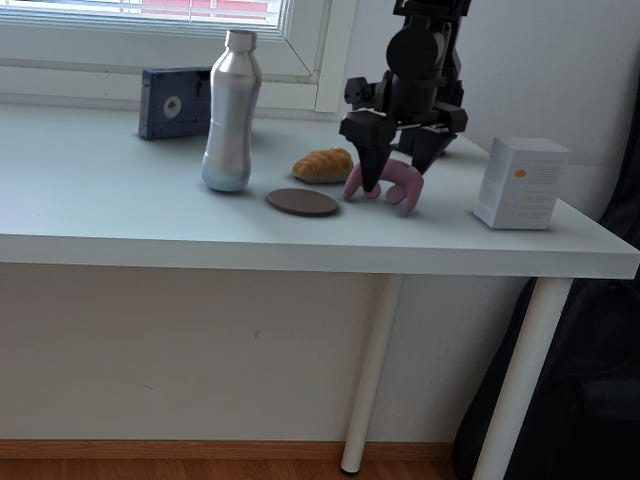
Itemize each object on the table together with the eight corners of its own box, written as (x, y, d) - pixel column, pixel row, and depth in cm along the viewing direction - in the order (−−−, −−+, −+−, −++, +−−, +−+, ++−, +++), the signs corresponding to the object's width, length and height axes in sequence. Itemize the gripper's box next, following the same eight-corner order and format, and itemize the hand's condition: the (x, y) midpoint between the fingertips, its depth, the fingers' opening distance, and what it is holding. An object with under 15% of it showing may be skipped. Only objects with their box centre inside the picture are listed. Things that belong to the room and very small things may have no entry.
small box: (526, 214, 115) (550, 138, 110) (547, 230, 111) (574, 151, 105) (471, 213, 114) (493, 135, 109) (490, 229, 109) (514, 148, 104)
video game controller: (414, 220, 114) (431, 170, 113) (411, 215, 110) (428, 162, 109) (344, 203, 118) (359, 154, 117) (338, 197, 114) (354, 146, 113)
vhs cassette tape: (229, 125, 142) (237, 63, 137) (240, 130, 140) (248, 68, 135) (135, 134, 133) (140, 68, 128) (145, 139, 131) (150, 73, 126)
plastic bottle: (234, 200, 111) (256, 39, 100) (189, 188, 113) (206, 30, 103) (256, 188, 115) (278, 33, 105) (212, 176, 118) (230, 25, 108)
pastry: (313, 189, 117) (318, 162, 115) (278, 175, 122) (282, 148, 120) (357, 179, 123) (362, 153, 121) (322, 166, 127) (326, 140, 125)
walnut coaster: (302, 188, 117) (303, 184, 117) (350, 210, 111) (351, 206, 111) (253, 197, 112) (254, 193, 112) (301, 221, 106) (302, 216, 106)
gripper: (415, 48, 115) (390, 160, 123) (318, 55, 105) (298, 177, 113) (484, 66, 108) (453, 184, 116) (387, 76, 98) (360, 204, 106)
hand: (390, 186), depth 113 cm, fingers open, 9 cm apart
